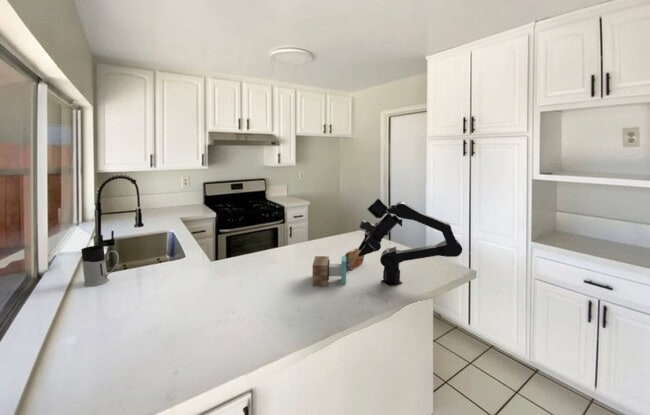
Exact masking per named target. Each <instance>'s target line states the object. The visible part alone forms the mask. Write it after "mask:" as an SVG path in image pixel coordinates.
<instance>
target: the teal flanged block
mask: <svg viewBox="0 0 650 415" xmlns="http://www.w3.org/2000/svg"><path fill="white" fill-rule="evenodd" d="M340 259H341V261H340V262H341V263H329V277H340V284H345V285H346V284H347V269H346V256H345V255H341V258H340Z"/></svg>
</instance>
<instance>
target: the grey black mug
mask: <svg viewBox="0 0 650 415" xmlns="http://www.w3.org/2000/svg"><path fill="white" fill-rule="evenodd" d="M111 252H112V253H115V254H116V259H117V260H116V264H115V265H114V267H113V269H111V270H110V271H109V272H108V270H107V261H108V260H109V254H110V253H111ZM119 257H120V256H119V253H118V252H117V251H116V250H110V251H108V252H107V253H106V256H105V247H104V245H90V246H87V247H86V246H85V247H83V248H81V261H82V269H83V277H84V283H83V286H84V287H86V288H91V287H99V286H102V285H105V284H108V283H109V281H110V280H109V277H108V275H110V274H111V273H112V272H113V271H115V269H116V268H117V267H118V264H119V261H120V260H119Z"/></svg>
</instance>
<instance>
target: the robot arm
mask: <svg viewBox="0 0 650 415" xmlns="http://www.w3.org/2000/svg"><path fill="white" fill-rule="evenodd" d="M366 210H367V211H368V212H369V213H370V214H371V215H372V216H373V217H375V219H381V220H380V221H379V222H376V223H372V222H371V221H368V220H366V219H363V218H362V219H361V222H360V223H359V229H360V230H365V231H364V238H363V240H362V242H361V243H360V245H359V246H358V247H357V249H359V250H361V251H360V253H359V254H358V256H360V257H361V256H364V257H365V256H366V255H369V254H372V253H375V252H379V251H380V250H381V248H382V245H381V243H382V240H383V239H384V238H385V237H386V236H389V235H390V234H389V233H390V232H391V231H392V229H394V228H395V227H396V226H397V225H399V226H400V227H403V219H404V220H410V221H415V222H417V223H420V224H423V225H425V226H426V227H429V228H431V229H434V230H436V231H439V232H441V233H442V235H443V238H444V240H443V241H440V242H438V243H437V244H433V245H426V246H421V247H415V248H409V249H404V250H401V249H400V250H399V249H397V246H394V247H391V248H390V247H387V248H386V249H384V250H383V251H382V252H381V255H380V258H379V259H380V264H381V265H382V266H383V274H382V275H383V276H382V279H381V280H380V282H381V283H383V284H386V285H388V286H391V287H395V286H398V285H400V284H403V281H401V279H400V278H401V269H400V264H401V263H402V262H406V261H407V262H408V261H412V260H419V259H424V258H426V259H427V258H431V257H436V256H437V257H438V256H440V257H445V258H450V257H451V258H457V257H460V256H461V254H462V253H463V247H462V244H461V243H460V242H459V241H458V239H456V236H455V235H454V232H453V230H452V226H451V225H450V223H449V222H447V221H443V220H442V219H441V220H440V219H438V218H435V217H433V216H431V215H428V214H425V213H423V212H421V211H419V210H417V209H415V208H414V207H413V206H411V205H410V204H408V203H407V202H404V201H399V202H397V203H396V204H393V205H392V204H391V205H386V203H384V201H382V200H381V198H380V197H378V198H377V199H376V200H375V201H374V202H372V203H371V204H370V205H369V206H368V208H367V209H366Z"/></svg>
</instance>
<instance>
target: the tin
mask: <svg viewBox="0 0 650 415" xmlns="http://www.w3.org/2000/svg"><path fill="white" fill-rule="evenodd" d="M360 251H361V250H359V249H358V248H354V249H352V250H349V251H348V252H346V253H345V254H344V256H346V270H350V271H352V270H355V269H357V268H358V267H360V266H362V264H363V263H364V259H365V255H364V256H361V257H360V256H358V254H359V253H360Z"/></svg>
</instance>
